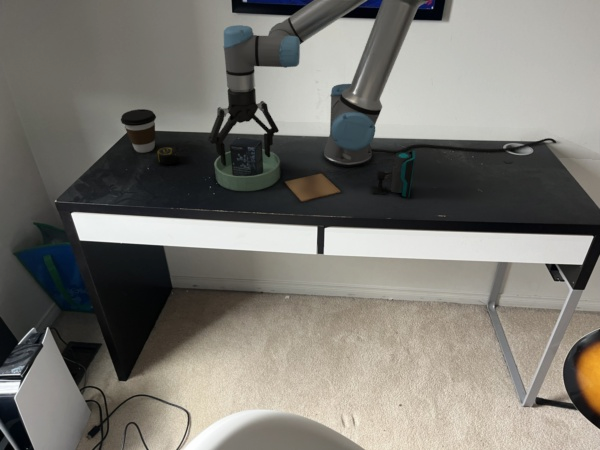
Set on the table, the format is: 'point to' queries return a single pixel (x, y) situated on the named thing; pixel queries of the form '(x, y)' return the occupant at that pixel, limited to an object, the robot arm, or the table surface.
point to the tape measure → (168, 155)
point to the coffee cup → (140, 129)
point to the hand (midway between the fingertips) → (245, 159)
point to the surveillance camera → (398, 175)
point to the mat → (312, 187)
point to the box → (246, 157)
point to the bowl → (248, 182)
